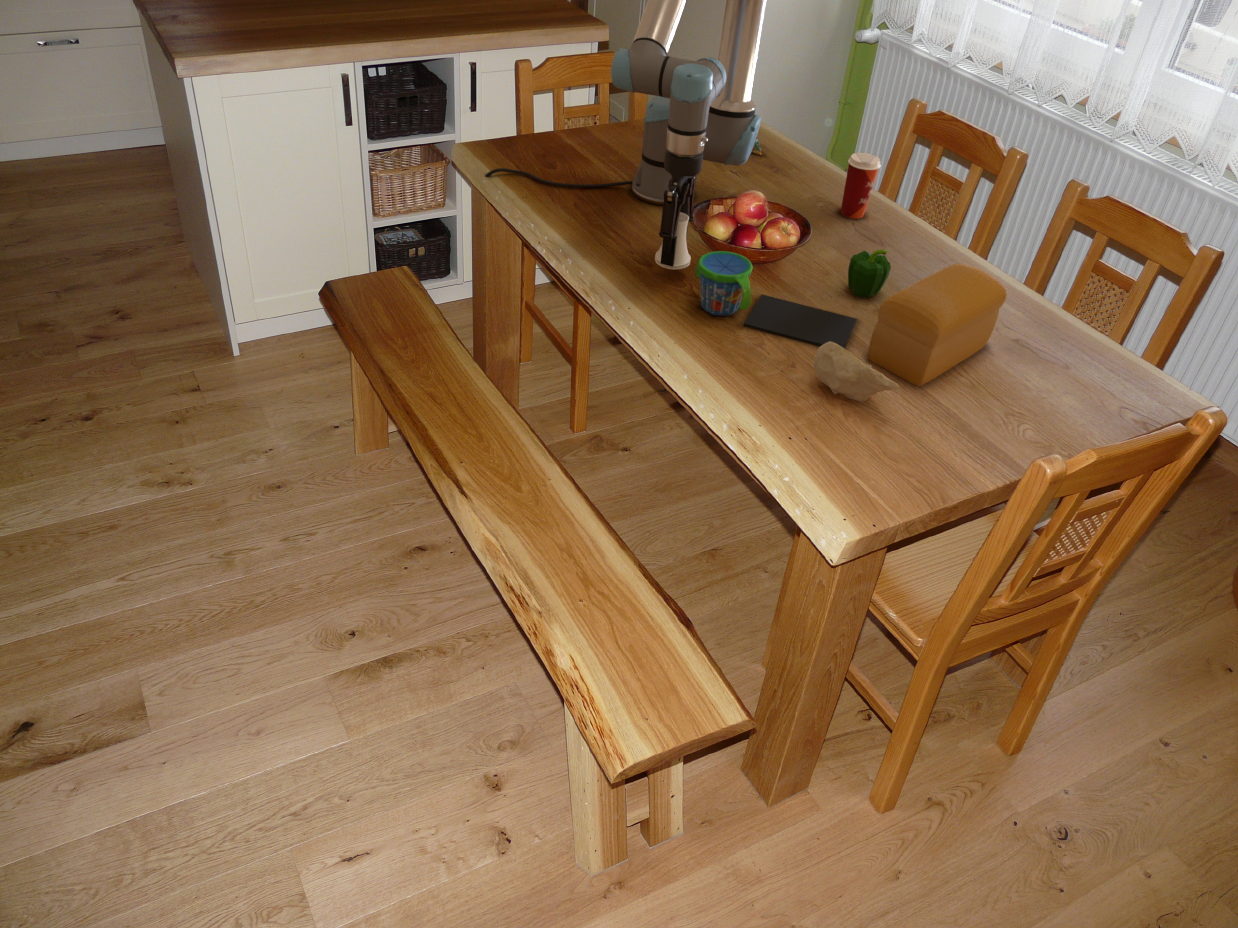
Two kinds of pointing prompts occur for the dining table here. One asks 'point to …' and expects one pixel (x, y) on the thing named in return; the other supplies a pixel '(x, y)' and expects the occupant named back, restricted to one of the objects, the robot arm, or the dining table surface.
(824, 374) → the beige lumpy piece
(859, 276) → the bell pepper
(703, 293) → the snack cup
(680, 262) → the vase
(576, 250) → the dining table surface
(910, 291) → the bread
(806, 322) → the placemat
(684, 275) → the dining table surface
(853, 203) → the paper cup
